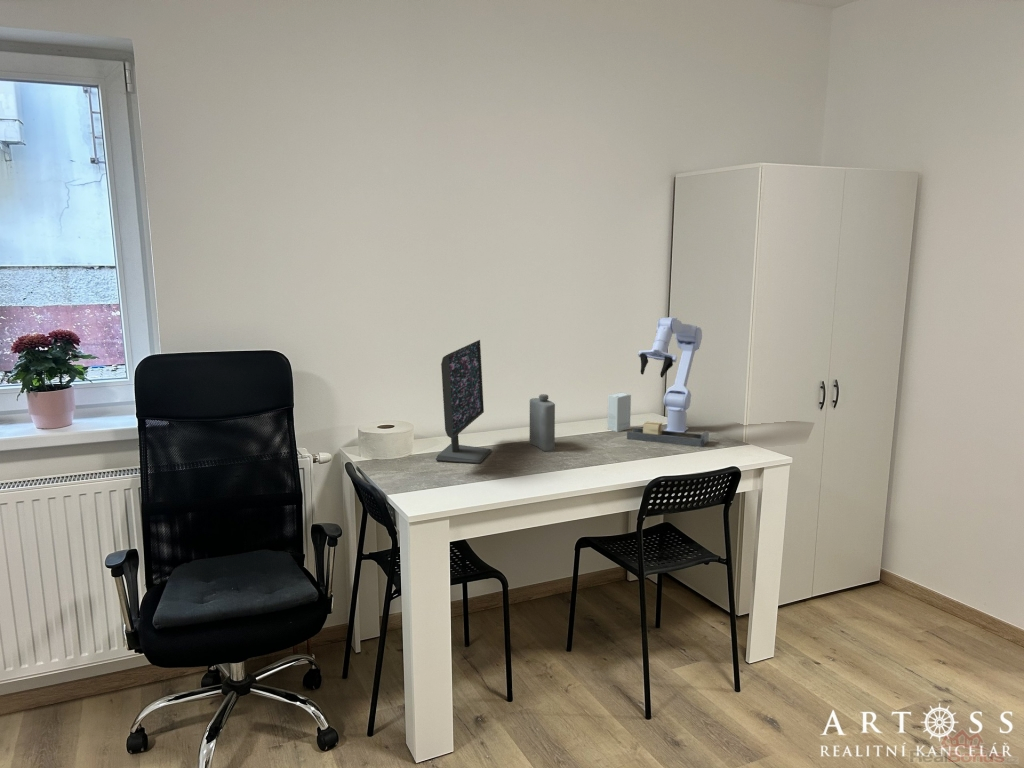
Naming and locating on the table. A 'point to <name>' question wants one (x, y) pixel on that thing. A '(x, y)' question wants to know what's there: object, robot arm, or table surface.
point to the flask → (542, 423)
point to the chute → (671, 437)
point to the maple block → (652, 428)
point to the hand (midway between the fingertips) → (651, 374)
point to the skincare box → (619, 412)
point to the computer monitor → (462, 401)
